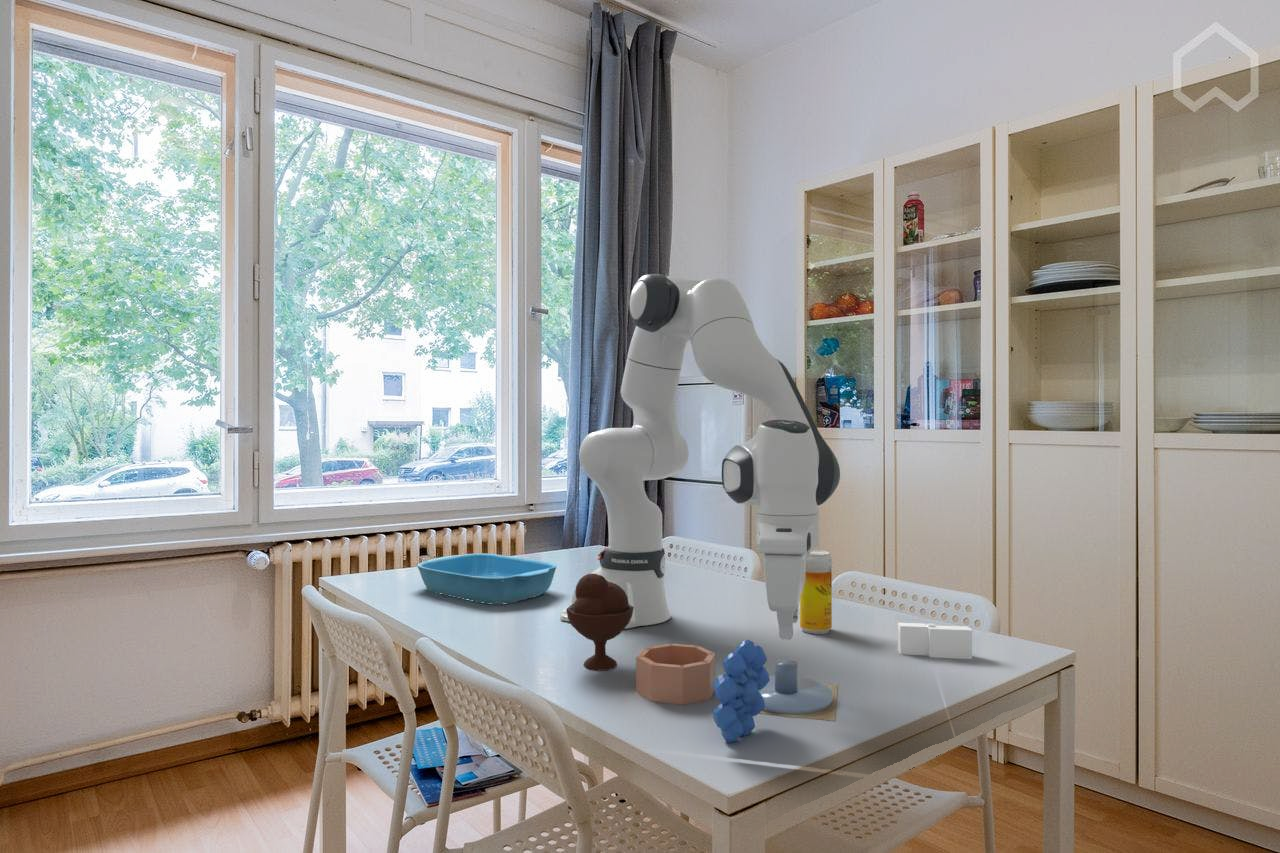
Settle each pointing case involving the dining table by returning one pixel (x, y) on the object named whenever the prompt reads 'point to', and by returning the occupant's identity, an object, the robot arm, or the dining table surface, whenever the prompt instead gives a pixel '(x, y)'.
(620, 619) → the ice cream bowl
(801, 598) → the beer can
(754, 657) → the grapes
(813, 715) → the plate
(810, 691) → the lid
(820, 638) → the dining table surface
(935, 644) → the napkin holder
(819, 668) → the dining table surface
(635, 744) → the dining table surface
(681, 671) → the bowl
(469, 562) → the casserole dish
